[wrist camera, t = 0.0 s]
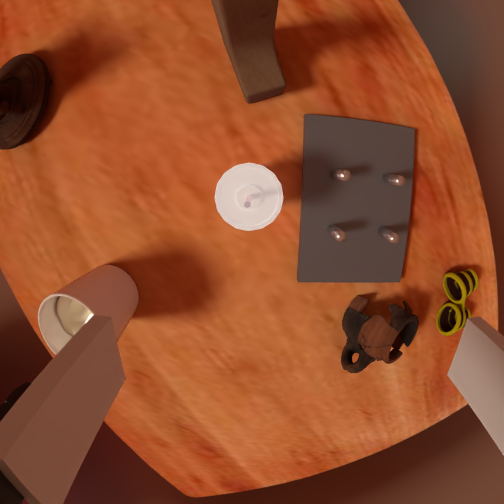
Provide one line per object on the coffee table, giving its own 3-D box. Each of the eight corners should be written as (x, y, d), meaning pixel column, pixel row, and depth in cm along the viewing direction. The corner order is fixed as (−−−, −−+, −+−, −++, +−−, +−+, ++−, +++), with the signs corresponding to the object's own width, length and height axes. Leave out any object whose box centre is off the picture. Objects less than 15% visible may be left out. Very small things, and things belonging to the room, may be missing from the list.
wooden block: (284, 94, 33) (308, 35, 15) (247, 105, 33) (238, 53, 16) (258, 31, 30) (260, -56, 13) (223, 42, 31) (198, -40, 13)
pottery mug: (366, 273, 39) (415, 299, 33) (387, 299, 45) (428, 323, 38) (312, 346, 39) (355, 383, 32) (342, 362, 45) (378, 392, 38)
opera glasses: (452, 319, 42) (472, 332, 37) (430, 327, 41) (450, 342, 36) (462, 263, 39) (485, 273, 34) (440, 268, 38) (463, 279, 34)
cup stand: (303, 115, 33) (311, 108, 28) (410, 129, 33) (430, 126, 28) (296, 278, 39) (302, 295, 34) (396, 278, 39) (412, 294, 34)
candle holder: (118, 334, 42) (84, 383, 30) (73, 287, 40) (27, 324, 28) (158, 297, 40) (126, 345, 28) (108, 244, 38) (60, 275, 26)
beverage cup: (216, 202, 36) (193, 226, 23) (236, 154, 35) (224, 149, 21) (264, 222, 37) (268, 257, 24) (285, 175, 35) (303, 183, 22)
